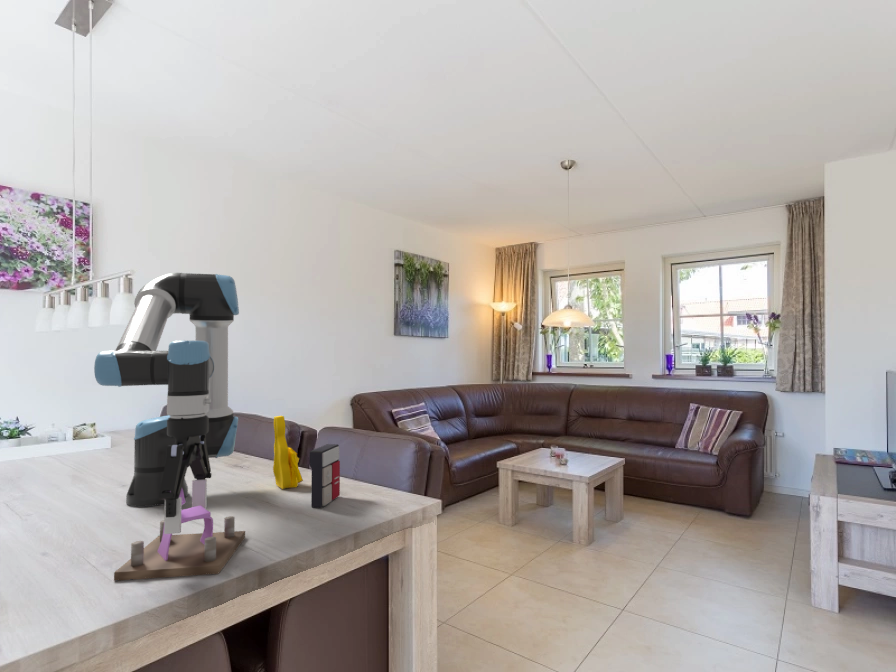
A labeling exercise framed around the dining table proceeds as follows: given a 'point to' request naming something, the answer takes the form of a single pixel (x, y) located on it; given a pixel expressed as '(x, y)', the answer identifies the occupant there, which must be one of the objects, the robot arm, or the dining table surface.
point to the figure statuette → (284, 458)
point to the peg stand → (182, 554)
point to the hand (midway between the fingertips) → (186, 521)
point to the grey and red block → (325, 475)
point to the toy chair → (187, 516)
